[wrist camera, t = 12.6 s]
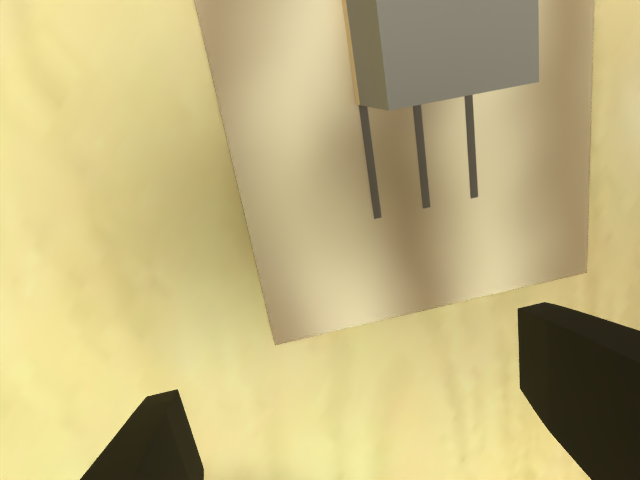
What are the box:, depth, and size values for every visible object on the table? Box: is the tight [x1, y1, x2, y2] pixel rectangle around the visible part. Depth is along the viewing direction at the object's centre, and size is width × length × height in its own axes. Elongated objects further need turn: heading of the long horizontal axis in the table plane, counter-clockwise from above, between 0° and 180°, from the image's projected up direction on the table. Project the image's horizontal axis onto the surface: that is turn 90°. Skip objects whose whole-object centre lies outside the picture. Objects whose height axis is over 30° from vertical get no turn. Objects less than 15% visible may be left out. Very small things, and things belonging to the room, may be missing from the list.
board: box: [194, 0, 594, 345], centre depth 17 cm, size 14×18×1 cm
